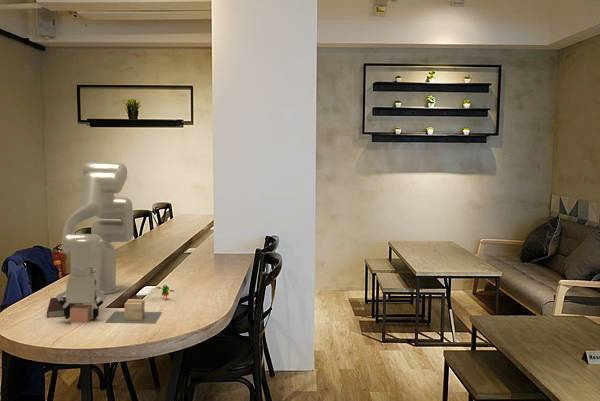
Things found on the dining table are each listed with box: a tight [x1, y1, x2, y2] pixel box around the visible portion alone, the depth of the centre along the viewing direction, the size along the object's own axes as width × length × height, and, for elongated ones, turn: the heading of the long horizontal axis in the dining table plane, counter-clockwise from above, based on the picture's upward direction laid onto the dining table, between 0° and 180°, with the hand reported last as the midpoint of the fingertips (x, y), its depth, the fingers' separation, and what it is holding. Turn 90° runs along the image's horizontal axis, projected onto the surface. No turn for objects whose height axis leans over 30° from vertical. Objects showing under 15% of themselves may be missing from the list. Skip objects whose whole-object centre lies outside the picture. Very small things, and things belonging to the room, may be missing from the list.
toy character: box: [156, 284, 175, 300], centre depth 230 cm, size 11×12×7 cm
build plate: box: [104, 310, 163, 325], centre depth 201 cm, size 14×18×1 cm
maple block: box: [123, 298, 146, 320], centre depth 201 cm, size 6×6×6 cm
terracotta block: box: [69, 304, 94, 326], centre depth 196 cm, size 6×6×6 cm
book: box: [46, 296, 78, 318], centre depth 211 cm, size 12×19×3 cm, turn 21°
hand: (81, 318), depth 196 cm, fingers open, 9 cm apart
